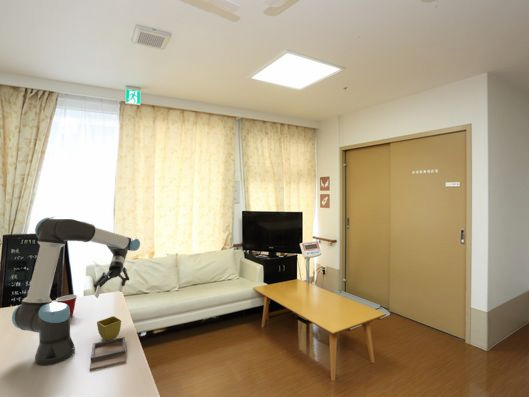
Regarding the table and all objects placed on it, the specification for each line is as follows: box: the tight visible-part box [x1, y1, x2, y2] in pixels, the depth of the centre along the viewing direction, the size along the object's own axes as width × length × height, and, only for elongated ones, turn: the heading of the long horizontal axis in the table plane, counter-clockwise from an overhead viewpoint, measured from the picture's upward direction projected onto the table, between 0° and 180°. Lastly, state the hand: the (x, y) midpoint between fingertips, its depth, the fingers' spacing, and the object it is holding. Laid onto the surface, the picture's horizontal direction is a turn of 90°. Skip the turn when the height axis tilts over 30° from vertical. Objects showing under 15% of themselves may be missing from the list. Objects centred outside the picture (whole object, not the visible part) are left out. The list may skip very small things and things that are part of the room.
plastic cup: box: [55, 294, 78, 318], centre depth 180 cm, size 11×11×12 cm
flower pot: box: [96, 315, 122, 341], centre depth 155 cm, size 9×9×9 cm
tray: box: [89, 336, 127, 372], centre depth 139 cm, size 20×14×2 cm
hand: (108, 293), depth 168 cm, fingers open, 13 cm apart
